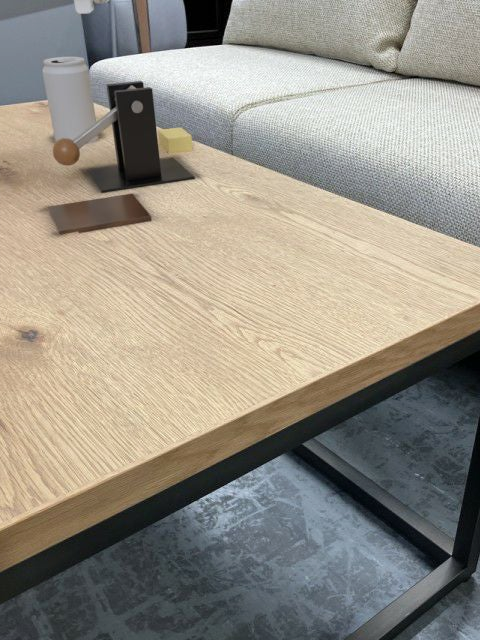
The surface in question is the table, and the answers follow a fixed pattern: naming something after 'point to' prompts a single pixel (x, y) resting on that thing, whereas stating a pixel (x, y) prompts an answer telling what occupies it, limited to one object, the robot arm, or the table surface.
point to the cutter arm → (82, 139)
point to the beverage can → (69, 96)
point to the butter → (175, 140)
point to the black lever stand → (135, 144)
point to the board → (98, 214)
